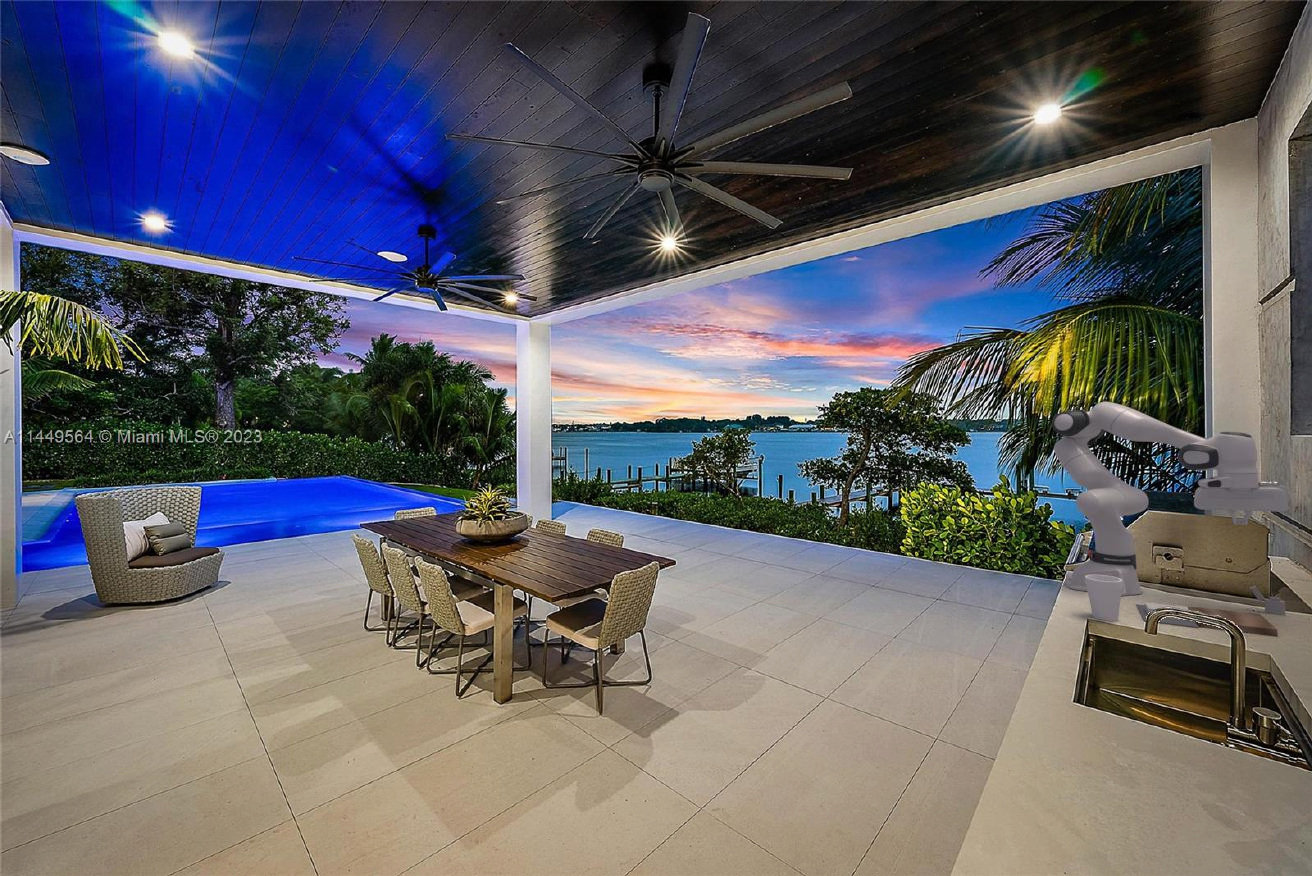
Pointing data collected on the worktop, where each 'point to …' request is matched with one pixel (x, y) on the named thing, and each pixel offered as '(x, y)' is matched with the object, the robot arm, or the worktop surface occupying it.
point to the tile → (1153, 606)
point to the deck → (1240, 621)
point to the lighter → (1270, 603)
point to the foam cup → (1104, 596)
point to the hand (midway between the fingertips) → (1240, 524)
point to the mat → (1167, 619)
